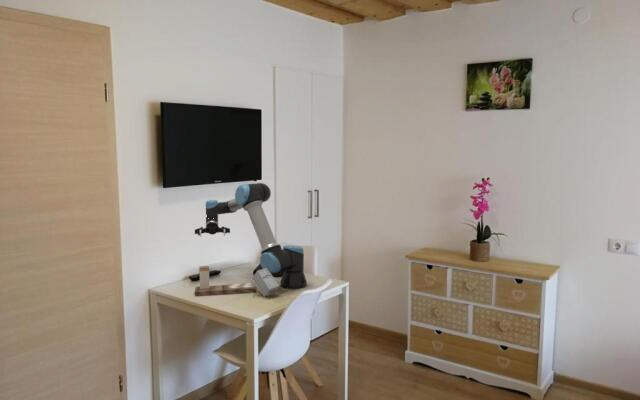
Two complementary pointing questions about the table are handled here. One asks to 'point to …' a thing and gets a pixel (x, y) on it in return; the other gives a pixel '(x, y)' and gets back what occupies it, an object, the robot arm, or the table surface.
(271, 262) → the robot arm
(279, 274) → the diary
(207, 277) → the stub
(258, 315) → the table surface
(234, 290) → the board
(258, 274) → the supplement box
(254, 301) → the table surface
